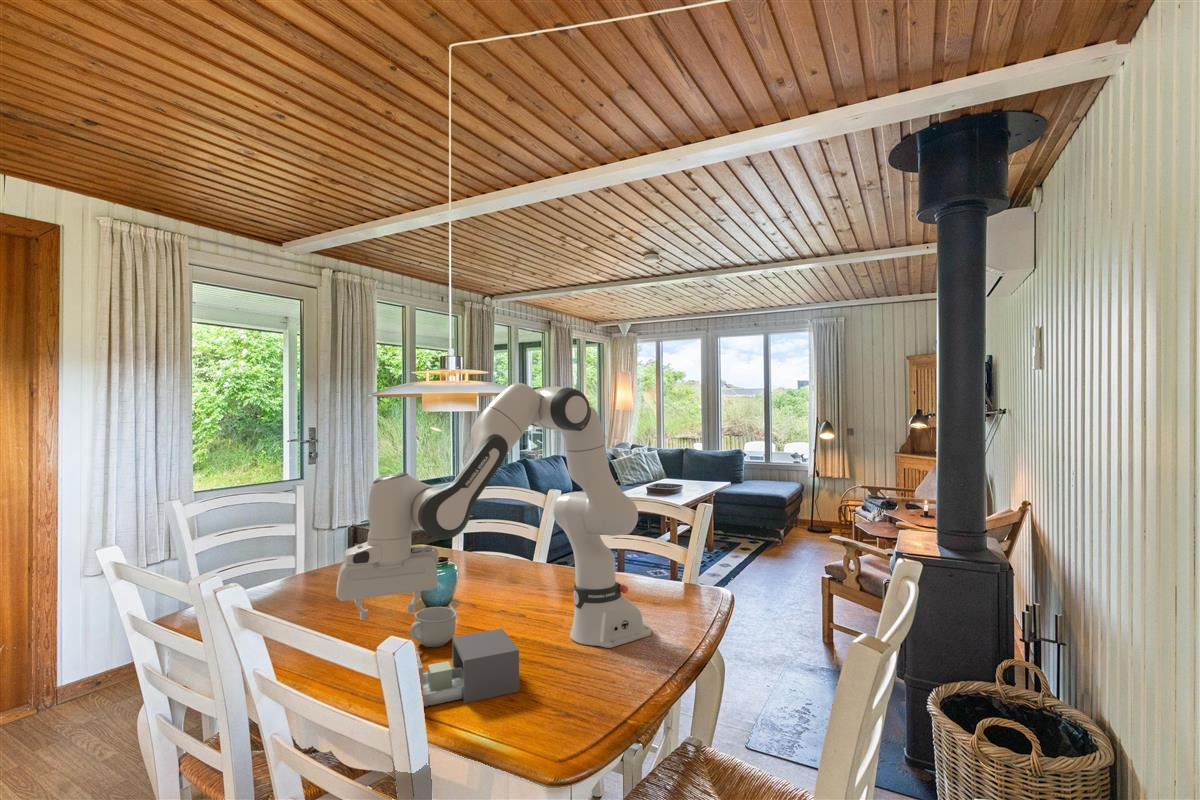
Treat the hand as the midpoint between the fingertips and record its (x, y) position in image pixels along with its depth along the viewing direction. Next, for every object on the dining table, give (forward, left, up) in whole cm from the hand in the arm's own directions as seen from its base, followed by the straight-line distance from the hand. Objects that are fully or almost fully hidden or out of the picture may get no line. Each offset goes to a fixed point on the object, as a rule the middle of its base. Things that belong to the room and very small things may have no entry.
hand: (387, 615), depth 120 cm
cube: (-11, 0, -17) cm, 20 cm away
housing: (-21, 0, -19) cm, 28 cm away
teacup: (-13, -28, -19) cm, 36 cm away
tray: (-11, 0, -18) cm, 21 cm away
